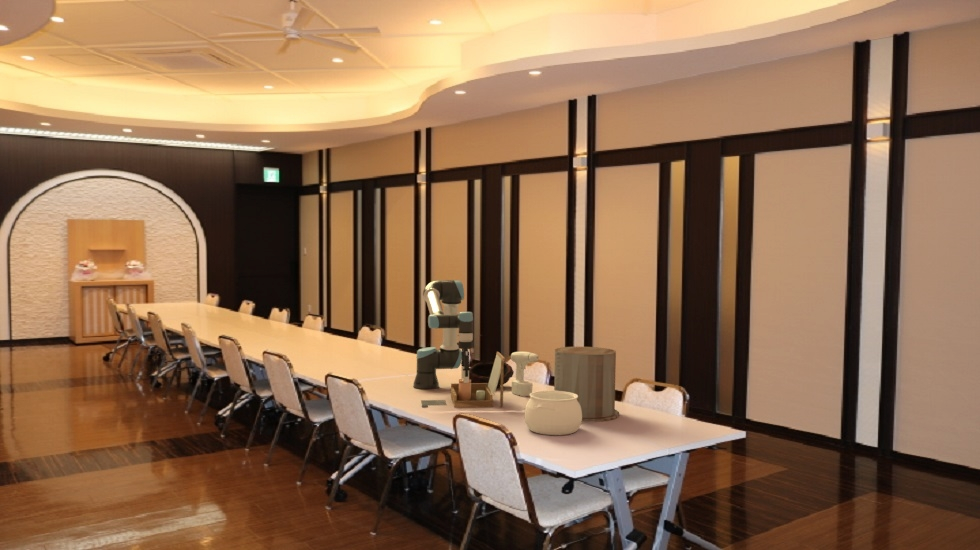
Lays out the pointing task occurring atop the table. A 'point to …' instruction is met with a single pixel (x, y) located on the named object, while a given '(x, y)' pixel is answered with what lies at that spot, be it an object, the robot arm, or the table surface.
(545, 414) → the pot
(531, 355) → the power drill
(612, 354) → the storage basket
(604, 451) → the table surface
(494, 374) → the lid
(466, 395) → the terracotta pot
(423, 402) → the slate tile
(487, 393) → the cold frame
